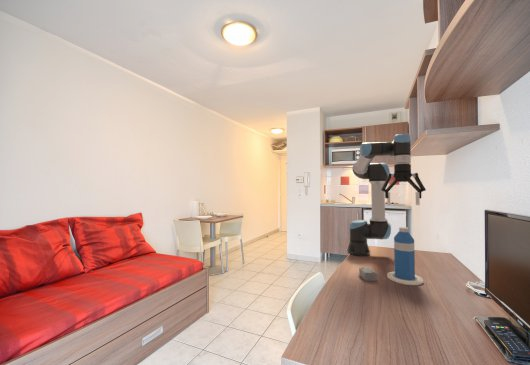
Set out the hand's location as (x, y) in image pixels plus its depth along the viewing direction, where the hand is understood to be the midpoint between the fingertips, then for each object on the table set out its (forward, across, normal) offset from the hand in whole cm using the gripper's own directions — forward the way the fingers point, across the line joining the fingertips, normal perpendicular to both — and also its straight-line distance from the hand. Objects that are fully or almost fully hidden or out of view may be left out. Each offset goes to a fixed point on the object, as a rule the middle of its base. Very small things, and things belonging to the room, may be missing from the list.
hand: (403, 204), depth 124 cm
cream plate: (+38, 0, 0) cm, 38 cm away
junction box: (+38, -18, -2) cm, 42 cm away
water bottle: (+37, 0, 0) cm, 37 cm away
